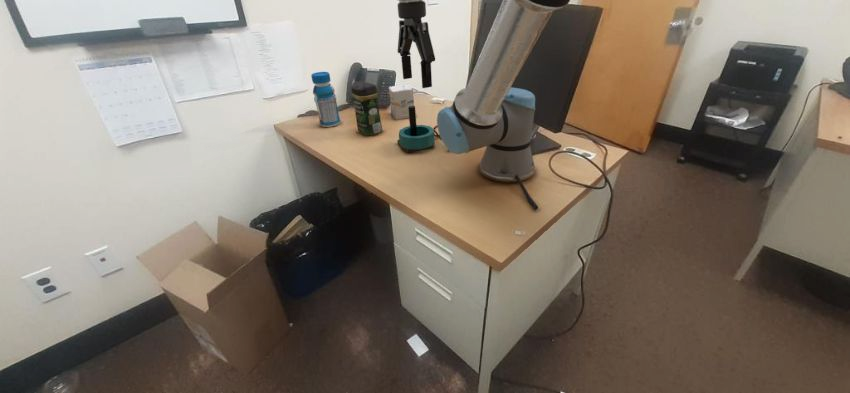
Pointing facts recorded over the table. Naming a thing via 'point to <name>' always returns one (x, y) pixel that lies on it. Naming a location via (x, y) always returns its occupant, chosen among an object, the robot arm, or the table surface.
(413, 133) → the peg stand
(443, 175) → the table surface
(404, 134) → the ring
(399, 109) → the ink box
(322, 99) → the beverage bottle
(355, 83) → the coffee jar
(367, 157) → the table surface
